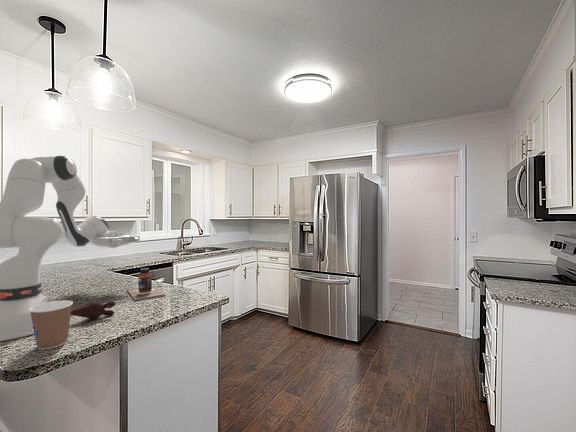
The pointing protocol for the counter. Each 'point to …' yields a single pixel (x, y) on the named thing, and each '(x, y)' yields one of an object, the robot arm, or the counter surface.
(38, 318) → the coffee cup
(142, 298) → the board
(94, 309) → the dark red toy figure
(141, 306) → the counter surface
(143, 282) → the supplement bottle
